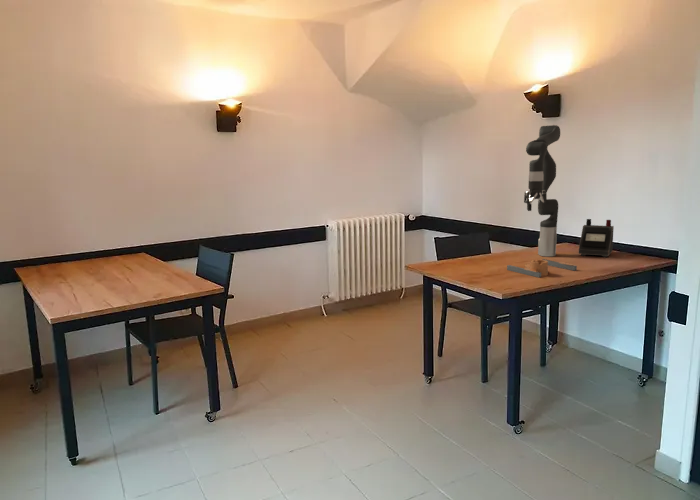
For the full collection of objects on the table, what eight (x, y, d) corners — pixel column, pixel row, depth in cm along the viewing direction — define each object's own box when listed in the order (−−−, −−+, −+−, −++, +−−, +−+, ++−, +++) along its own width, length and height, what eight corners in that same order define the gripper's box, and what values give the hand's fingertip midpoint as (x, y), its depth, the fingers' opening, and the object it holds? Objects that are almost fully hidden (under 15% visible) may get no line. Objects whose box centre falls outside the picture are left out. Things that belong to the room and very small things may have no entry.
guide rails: (506, 269, 293) (507, 264, 293) (543, 263, 306) (543, 258, 305) (538, 277, 274) (539, 272, 273) (576, 270, 286) (576, 265, 286)
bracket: (549, 276, 277) (550, 262, 276) (532, 276, 277) (533, 263, 276) (538, 268, 295) (539, 255, 294) (523, 269, 295) (523, 256, 294)
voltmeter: (578, 256, 322) (579, 222, 319) (583, 251, 336) (584, 218, 333) (608, 258, 314) (610, 223, 310) (612, 253, 328) (613, 219, 324)
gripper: (540, 179, 302) (539, 208, 305) (520, 180, 295) (520, 210, 298) (551, 179, 295) (550, 209, 298) (531, 181, 289) (530, 211, 291)
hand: (535, 210), depth 298 cm, fingers open, 8 cm apart
